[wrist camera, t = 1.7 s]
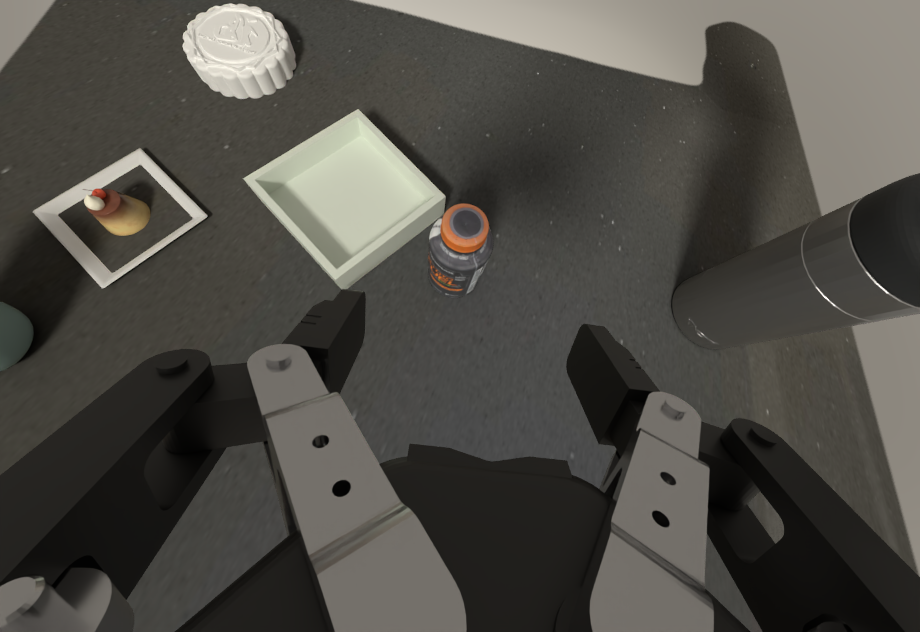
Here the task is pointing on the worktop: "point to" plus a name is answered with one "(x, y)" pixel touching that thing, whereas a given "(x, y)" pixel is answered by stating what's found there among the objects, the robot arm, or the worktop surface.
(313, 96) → the worktop surface
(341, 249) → the tray
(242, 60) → the mooncake
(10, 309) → the cup
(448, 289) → the pill bottle
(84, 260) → the dessert
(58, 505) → the robot arm
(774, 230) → the worktop surface
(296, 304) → the worktop surface
